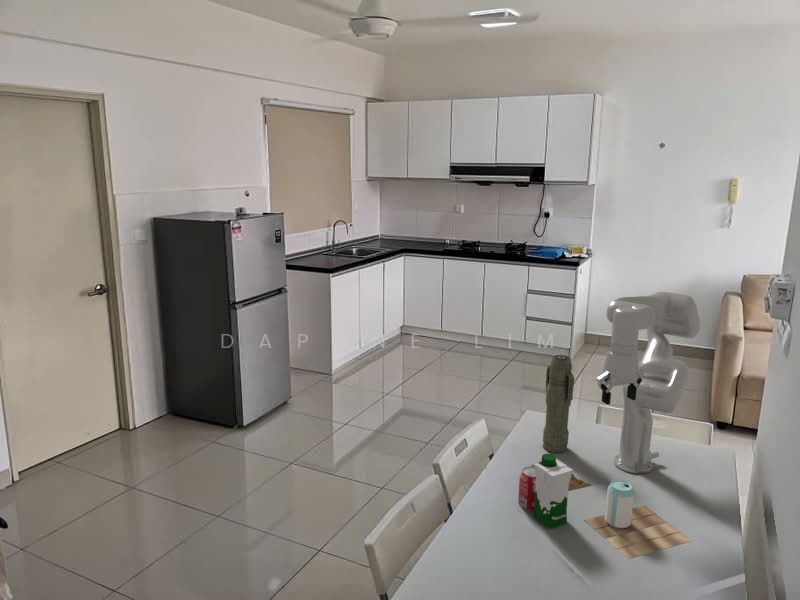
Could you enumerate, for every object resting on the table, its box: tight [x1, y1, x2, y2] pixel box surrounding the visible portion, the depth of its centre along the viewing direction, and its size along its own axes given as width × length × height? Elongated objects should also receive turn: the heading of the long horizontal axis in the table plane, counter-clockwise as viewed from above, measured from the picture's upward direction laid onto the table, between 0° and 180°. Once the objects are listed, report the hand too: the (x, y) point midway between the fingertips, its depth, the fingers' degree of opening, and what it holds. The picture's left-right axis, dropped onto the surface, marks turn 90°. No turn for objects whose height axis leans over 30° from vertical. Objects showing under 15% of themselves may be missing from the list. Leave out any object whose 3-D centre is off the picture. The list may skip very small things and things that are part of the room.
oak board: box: [605, 522, 693, 560], centre depth 168 cm, size 22×9×1 cm, turn 111°
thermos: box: [542, 354, 575, 454], centre depth 218 cm, size 9×12×35 cm
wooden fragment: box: [530, 464, 594, 492], centre depth 200 cm, size 26×11×1 cm, turn 34°
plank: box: [583, 505, 667, 539], centre depth 176 cm, size 22×9×1 cm, turn 111°
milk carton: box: [532, 453, 574, 530], centre depth 175 cm, size 9×9×20 cm
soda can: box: [517, 466, 536, 511], centre depth 183 cm, size 7×7×12 cm
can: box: [604, 479, 635, 528], centre depth 174 cm, size 7×7×12 cm
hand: (618, 400), depth 188 cm, fingers open, 9 cm apart
